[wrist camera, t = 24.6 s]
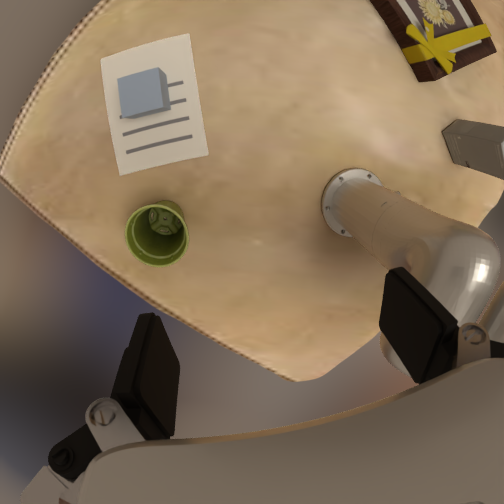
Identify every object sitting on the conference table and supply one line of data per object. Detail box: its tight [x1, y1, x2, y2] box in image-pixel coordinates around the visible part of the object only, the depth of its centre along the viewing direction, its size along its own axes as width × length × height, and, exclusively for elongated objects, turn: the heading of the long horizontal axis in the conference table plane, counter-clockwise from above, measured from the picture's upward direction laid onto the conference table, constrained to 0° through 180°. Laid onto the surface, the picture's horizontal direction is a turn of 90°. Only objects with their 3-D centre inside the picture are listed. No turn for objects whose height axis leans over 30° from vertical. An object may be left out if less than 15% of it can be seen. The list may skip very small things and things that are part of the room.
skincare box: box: [442, 119, 504, 180], centre depth 37 cm, size 8×7×16 cm
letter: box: [101, 33, 209, 176], centre depth 37 cm, size 15×21×1 cm
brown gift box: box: [370, 0, 497, 82], centre depth 28 cm, size 28×7×30 cm
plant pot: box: [125, 201, 189, 267], centre depth 41 cm, size 9×9×9 cm
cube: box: [117, 67, 171, 119], centre depth 34 cm, size 6×6×6 cm
